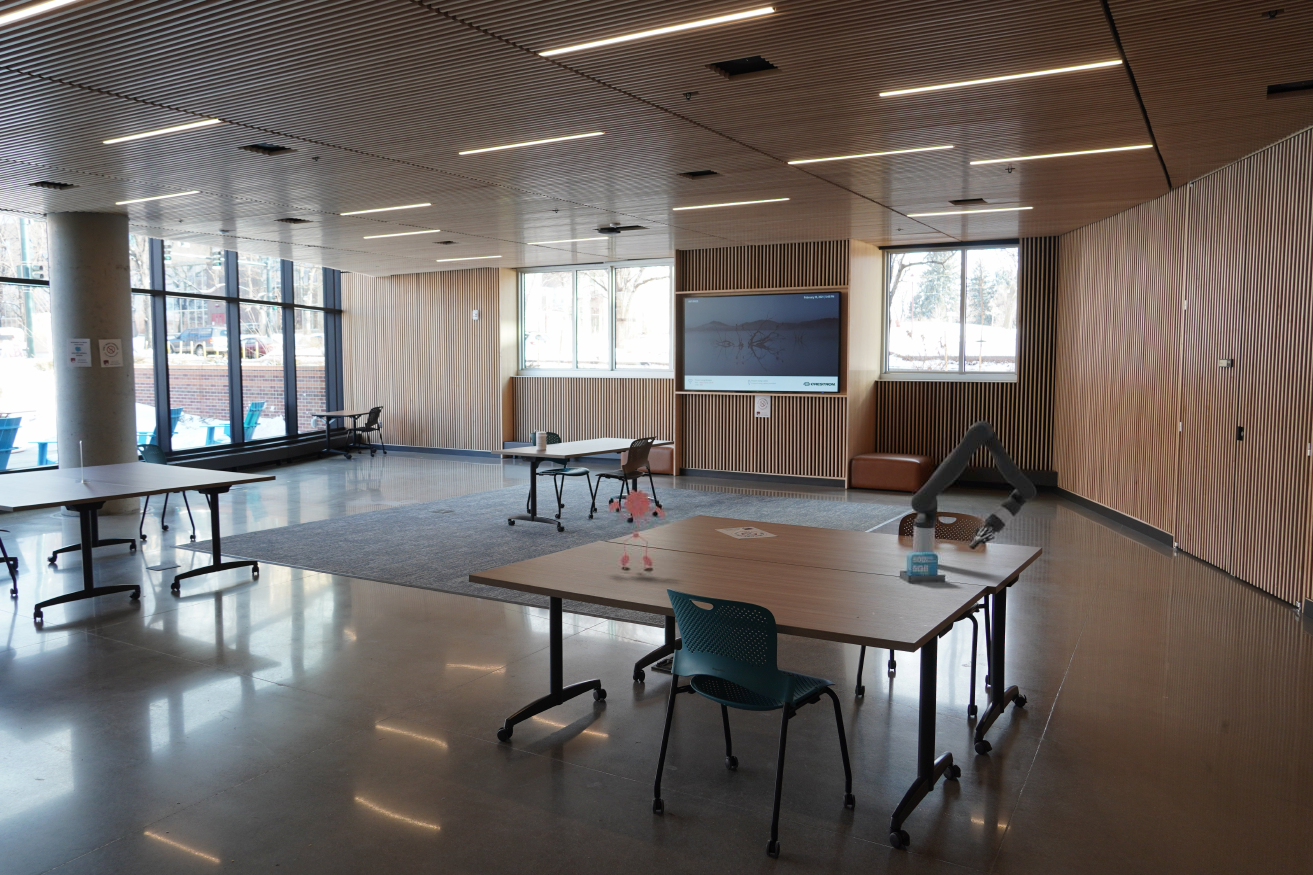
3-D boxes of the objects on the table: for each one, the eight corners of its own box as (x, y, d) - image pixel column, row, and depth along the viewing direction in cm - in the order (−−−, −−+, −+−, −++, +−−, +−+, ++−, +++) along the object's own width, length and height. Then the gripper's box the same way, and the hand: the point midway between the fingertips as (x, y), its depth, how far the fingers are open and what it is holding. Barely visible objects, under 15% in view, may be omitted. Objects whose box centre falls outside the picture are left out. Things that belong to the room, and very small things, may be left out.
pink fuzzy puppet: (663, 571, 396) (663, 492, 394) (606, 568, 401) (606, 490, 399) (668, 564, 411) (669, 488, 410) (614, 562, 416) (614, 487, 414)
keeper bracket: (899, 577, 385) (899, 570, 385) (935, 576, 387) (935, 569, 387) (908, 583, 376) (909, 575, 375) (945, 581, 378) (945, 574, 378)
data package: (910, 582, 377) (911, 554, 376) (906, 580, 381) (906, 552, 380) (937, 581, 378) (938, 553, 377) (932, 579, 383) (933, 551, 382)
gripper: (985, 510, 390) (958, 538, 389) (1001, 515, 377) (972, 545, 376) (996, 522, 391) (969, 550, 391) (1012, 528, 378) (984, 557, 377)
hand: (970, 547), depth 383 cm, fingers closed
